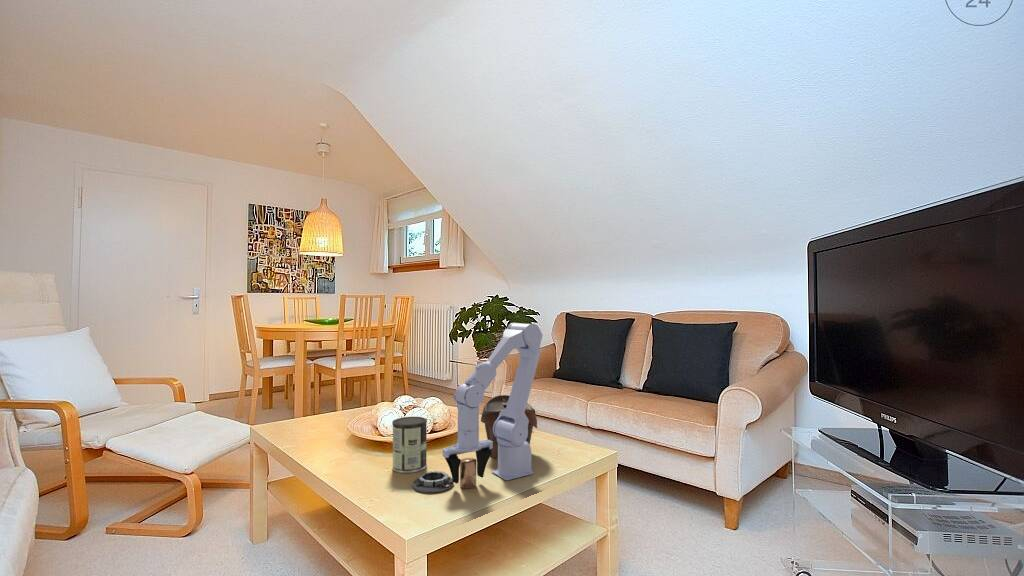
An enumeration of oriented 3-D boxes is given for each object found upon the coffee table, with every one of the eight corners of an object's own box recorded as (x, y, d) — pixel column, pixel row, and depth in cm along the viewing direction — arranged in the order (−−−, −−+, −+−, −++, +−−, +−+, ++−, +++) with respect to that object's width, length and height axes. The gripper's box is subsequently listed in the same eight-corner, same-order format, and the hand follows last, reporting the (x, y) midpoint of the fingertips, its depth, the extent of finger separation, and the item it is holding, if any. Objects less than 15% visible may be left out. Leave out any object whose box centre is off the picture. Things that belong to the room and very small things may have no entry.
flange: (442, 474, 137) (442, 466, 137) (460, 487, 128) (460, 478, 128) (406, 483, 131) (406, 474, 131) (422, 496, 122) (422, 487, 122)
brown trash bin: (518, 468, 142) (518, 407, 143) (468, 455, 154) (468, 400, 155) (549, 453, 157) (549, 399, 157) (502, 443, 169) (502, 392, 169)
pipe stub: (471, 482, 132) (471, 456, 132) (479, 487, 128) (479, 461, 128) (457, 485, 129) (457, 459, 129) (464, 490, 126) (465, 464, 126)
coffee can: (413, 459, 151) (413, 414, 151) (433, 466, 144) (433, 420, 144) (385, 467, 143) (385, 420, 143) (405, 476, 136) (405, 426, 137)
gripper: (451, 436, 122) (450, 489, 121) (498, 427, 130) (498, 478, 130) (439, 430, 128) (438, 481, 127) (485, 422, 136) (485, 470, 135)
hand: (468, 479), depth 129 cm, fingers open, 7 cm apart
